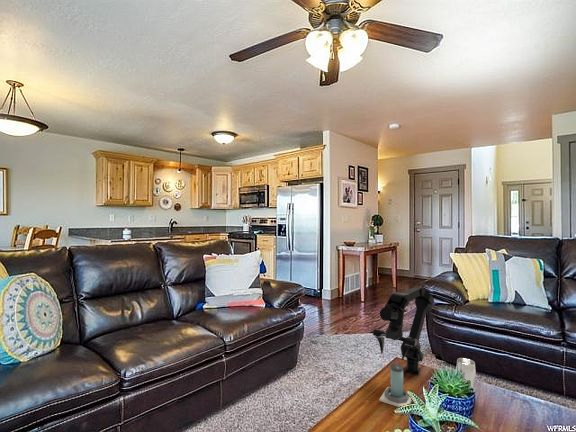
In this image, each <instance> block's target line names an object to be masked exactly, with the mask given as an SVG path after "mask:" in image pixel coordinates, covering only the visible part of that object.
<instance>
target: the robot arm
mask: <svg viewBox="0 0 576 432" xmlns="http://www.w3.org/2000/svg"><path fill="white" fill-rule="evenodd" d="M413 300H415V301H414V304H415V308H416V310H415V313H414V316H413V319H412V323H411V326H410V331H409V332H408V333H409V334H408V336H406V337H404V336H403V335H404V334H403V333H404V331H403V326H404V317H405V313H407V310H406V307H408V306H409V305H410V302H411V301H413ZM434 304H435V298H434V297H433V295H432V294H431V293H430V292H428V291H427V290H426V288H424V287H422V286H413V287H412V288H409V289H408V290H406V291H402V292H397V291H396V292H393V293H391V295H390V296H389V298H388V300H387V302H386V303H385V304H384V307H383V308H381V309H380V311H379V316H380V318H381V320H382V321H385V322H389V323H388V327H387V328H386V329H385V330H384V329H380V328H374V329H373V330H372V336H374V337H375V339H377V341H378V344H379V347H380V348H379V349H380V353H381V354H383V353H384V346H385V338H386V339H391V340H392V341H401V342H402V343H401V346H400V352H401V356H402V357H401V361H402V360H404V359H405V361H406V364H405V366H406V367H405V368H403V372H406V373H410V374H414V375H419V373H420V372H421V367H419V366H420V364H419V363H420V362H423V360H424V354H423V352H422V351H421V348H422V347H421V343H420V338H421V334H422V330H423V327H424V323H425V319H426V316H427V313H428V312H429V311H430V310H431V309H432V308H433V305H434Z"/></svg>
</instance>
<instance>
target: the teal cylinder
mask: <svg viewBox="0 0 576 432" xmlns="http://www.w3.org/2000/svg"><path fill="white" fill-rule="evenodd" d="M390 388H391V396H392V397H396V398H403V389H404V366H403V365H402V364H398V363H392V364H390Z"/></svg>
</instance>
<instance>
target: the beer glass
mask: <svg viewBox="0 0 576 432" xmlns="http://www.w3.org/2000/svg"><path fill="white" fill-rule="evenodd" d="M457 370H458V371H460V372H462V374H463V377H464V378H465V379H466V380H470V381H471V386H472V388H473V389H474V388H475V387H474V385H475V382H476V374H477V373H476V362H475V361H474V360H473V359H470V358H465V357H459V358H457V360H456V371H457Z"/></svg>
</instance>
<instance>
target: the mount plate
mask: <svg viewBox="0 0 576 432" xmlns="http://www.w3.org/2000/svg"><path fill="white" fill-rule="evenodd" d="M407 393H408V392H407V391H406V390H405V389H404V388H403V398H396V397H392V396H391V387H389V386H386V389H384V392H383V393H382V394H381V396H380V397H379V402H382V403H385V404H389V405H391V406H395V407H398V408H401V407H400V406H403V405H407V404H410V405H411V403H412V402H413V401H412V400H413V399H412V400H411V398H410V397H409V396H408V395H407Z"/></svg>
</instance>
